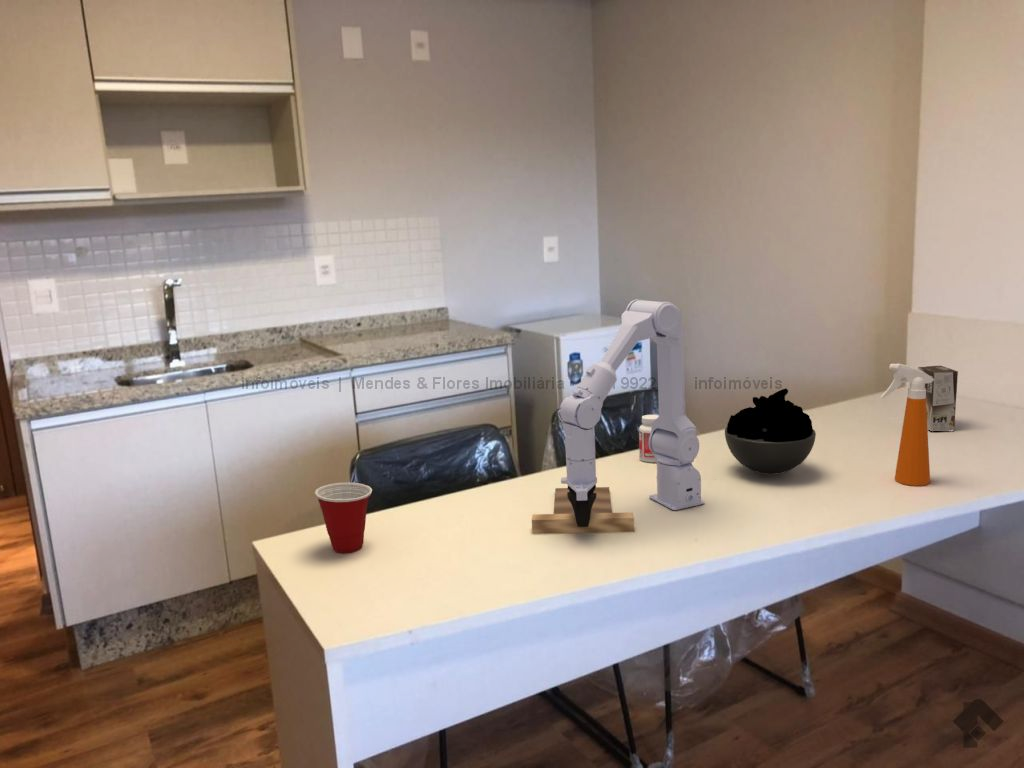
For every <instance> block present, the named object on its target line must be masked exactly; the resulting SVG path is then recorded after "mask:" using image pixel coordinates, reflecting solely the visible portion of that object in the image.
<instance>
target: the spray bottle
mask: <svg viewBox="0 0 1024 768" xmlns="http://www.w3.org/2000/svg"><path fill="white" fill-rule="evenodd" d="M889 370H890V371H894V373H893V380H892V382H891V383H890V385H889V386H888V387H887V389H886V390H885V392H884V393H883V394H882V395H880V396H879V397H880V399H881V400H882V399H883V398H885V397H888V396H889V395H891V394H892V393H893V392H895V391H896V390H897V389H898V387H900V386H902V385H903V384H904V383H907V382H908V383H909V387H908V388H907V397H906V402H905V403H906V404H905V410H904V415H903V422H902V428H901V436H900V442H899V448H898V455H897V461H896V468H895V475H894V480H895V482H897V483H898V482H899V483H898V484H901V485H903V486H909V485H910V486H912V487H922V486H927V485H929V484H930V483H931V470H930V469H931V468H930V467H931V466H930V455H929V454H930V452H929V448H930V447H929V433H928V432H929V431H928V429H927V410H926V389H925V383H930V382H932V381H934V379H933V378H932V377H930V376H929V375H928V374H926V373H924V372H923V371H920V370H918V368H915V367H912V366H910V365H906V364H901V363H890V364H889ZM910 486H909V487H910Z"/></svg>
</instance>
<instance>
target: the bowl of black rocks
mask: <svg viewBox="0 0 1024 768" xmlns="http://www.w3.org/2000/svg"><path fill="white" fill-rule="evenodd" d="M788 393H789V389H788V388H782V389H781V390H778V391H776V392H774V393H773V394H770V395H769V396H768V397H767V396H764V395H761V396H759V397H758V396H753V397H752V403H753V405H754V407H751V406H749V407H746V408H743V409H740V410H739V411H738V412H737V413H735V414H731V415H730V417H729V420H728V421H727V424H726V427H725V429H724V438H725V443H726V445H727V448H728V449H729V451H730V452H731V455H732V456H733V457H734V458H735V460H736V461H737V462H738V463H740V464H741V465H742V466H743V467H745V468H747V469H748V470H751V471H753V472H755V473H757V474H763V475H779V474H784V473H787V472H789V471H792V470H794V469H796V468H797V467H798V466H800V465H801V464H802V463H803V462H804V461H806V459H807V457H808V456H809V455H810V453H811V452H812V450H813V448H814V444H815V441H816V436H817V435H816V430H815V429H814V428H813V421H812V419H811V418H810V415H809V414H808V413H806V412H804V410H803V407H801V406H799V405H797V404H794V402H792V401H790V400H789V399H786V396H787V395H788Z"/></svg>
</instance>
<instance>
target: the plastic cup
mask: <svg viewBox="0 0 1024 768" xmlns="http://www.w3.org/2000/svg"><path fill="white" fill-rule="evenodd" d="M372 491H373V489H372V488H371V486H369V485H366V484H364V483H357V482H336V483H329V484H326V485H322V486H320V487H318V488H316V489H315V491H314V495H315V497H316V498H317V500H318V503H319V508H320V510H321V514H322V516H323V520H324V524H325V528H326V532H327V535H328V536H329V541H330V544H331V547H332V550H333V551H334V552H335V553H338V554H350V553H355V552H357V551H360V550H361V549H363V545H364V539H365V531H366V530H365V529H366V522H367V521H366V518H367V510H368V503H369V498H370V496H371V495H372Z"/></svg>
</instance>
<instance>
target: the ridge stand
mask: <svg viewBox="0 0 1024 768" xmlns="http://www.w3.org/2000/svg"><path fill="white" fill-rule="evenodd" d="M567 492H570V491H569V489H568V487H559V488H558V487H557V488H556V487H555V492H554V505H553V514H574V510H573V507H572V504H571V503H570V501H569V499H568V497H567ZM593 493H596V494H597V496H596V499H595V501H594V503H593V506H592V509H591V513H613V509H612V502H611V501H612V500H611V491H610V487H609V486H601V487H598V486H596V488H595V490H594V492H593Z"/></svg>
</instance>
